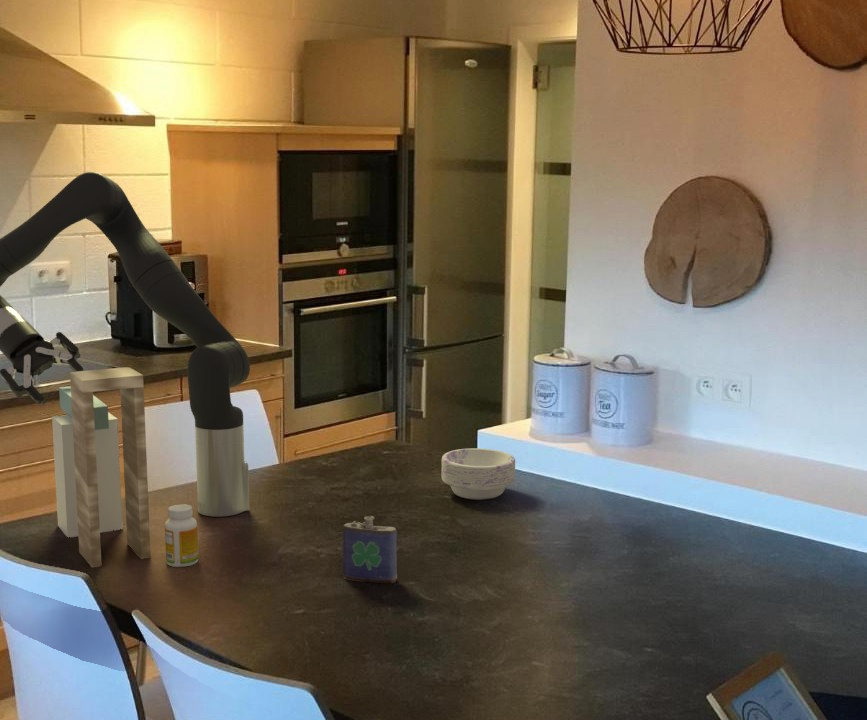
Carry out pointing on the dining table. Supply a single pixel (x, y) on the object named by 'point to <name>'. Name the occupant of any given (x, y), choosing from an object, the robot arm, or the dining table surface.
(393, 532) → the flask
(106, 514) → the light grey tall block
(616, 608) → the dining table surface
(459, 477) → the paper bowls
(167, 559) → the supplement bottle
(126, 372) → the bridge
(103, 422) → the pale green long bar
